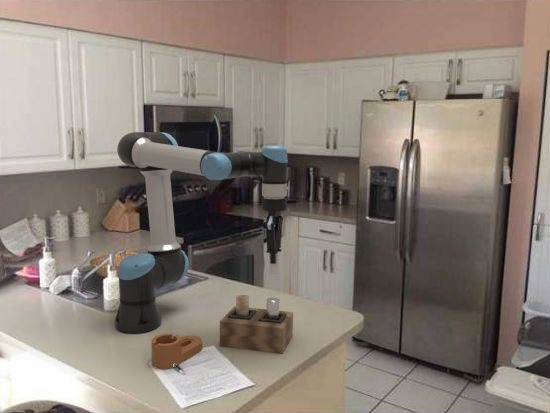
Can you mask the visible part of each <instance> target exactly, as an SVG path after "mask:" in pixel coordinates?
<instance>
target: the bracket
mask: <svg viewBox="0 0 550 413" xmlns="http://www.w3.org/2000/svg"><path fill="white" fill-rule="evenodd" d="M202 350H203V339H202V337H200V336H197V335H182V336H180V335H179V334H174V335H173V333H163V334H161V333H160V334H157V335H155V336H154V337H152V338H151V364H152V367H154V368H155V367H156V369H160V370H170V369H173V368H172V367H173V364H174V363H175V364H177V365H178V366H180V365H181V364H182V363H184V362H185V361H187V360H189V359H191V358H192V357H194V356H195V355H197V354H199V353H201V352H202ZM169 368H170V369H169Z"/></svg>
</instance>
